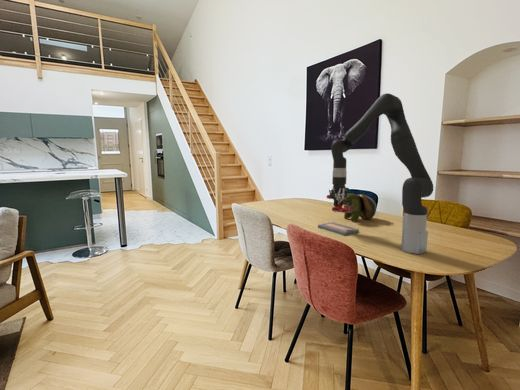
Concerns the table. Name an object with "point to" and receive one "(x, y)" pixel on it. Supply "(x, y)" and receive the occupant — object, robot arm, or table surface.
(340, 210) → the toy fire truck
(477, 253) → the table surface
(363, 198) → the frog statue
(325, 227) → the board
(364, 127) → the robot arm
